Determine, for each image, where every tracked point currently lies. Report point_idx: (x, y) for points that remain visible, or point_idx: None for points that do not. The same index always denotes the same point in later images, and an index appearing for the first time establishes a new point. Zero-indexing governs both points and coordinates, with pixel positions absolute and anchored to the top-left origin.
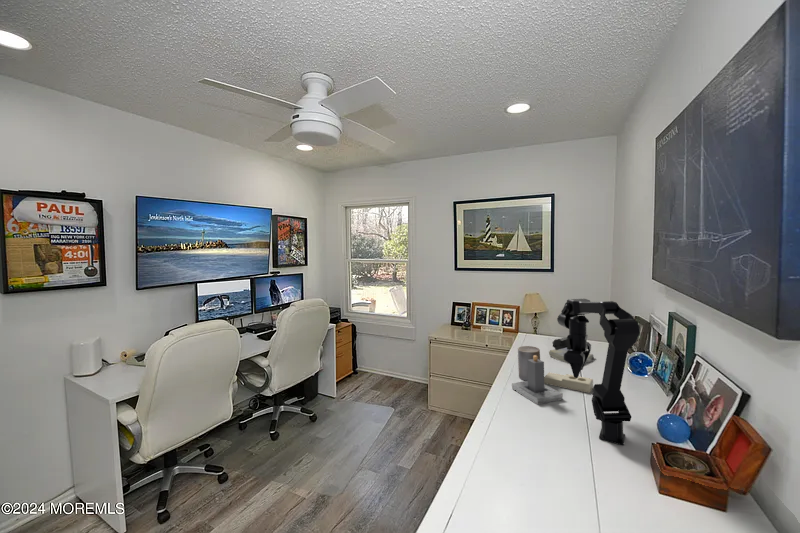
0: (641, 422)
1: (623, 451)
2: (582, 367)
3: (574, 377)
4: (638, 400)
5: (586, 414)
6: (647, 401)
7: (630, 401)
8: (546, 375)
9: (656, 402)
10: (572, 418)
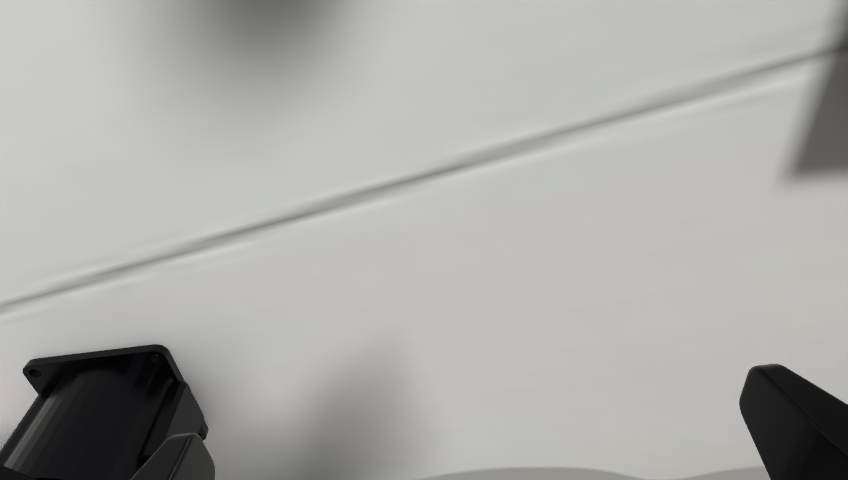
0: (456, 445)
1: None
2: (771, 475)
3: (171, 438)
4: None
5: (333, 209)
6: None
7: (760, 362)
8: None
9: None
10: (158, 145)
